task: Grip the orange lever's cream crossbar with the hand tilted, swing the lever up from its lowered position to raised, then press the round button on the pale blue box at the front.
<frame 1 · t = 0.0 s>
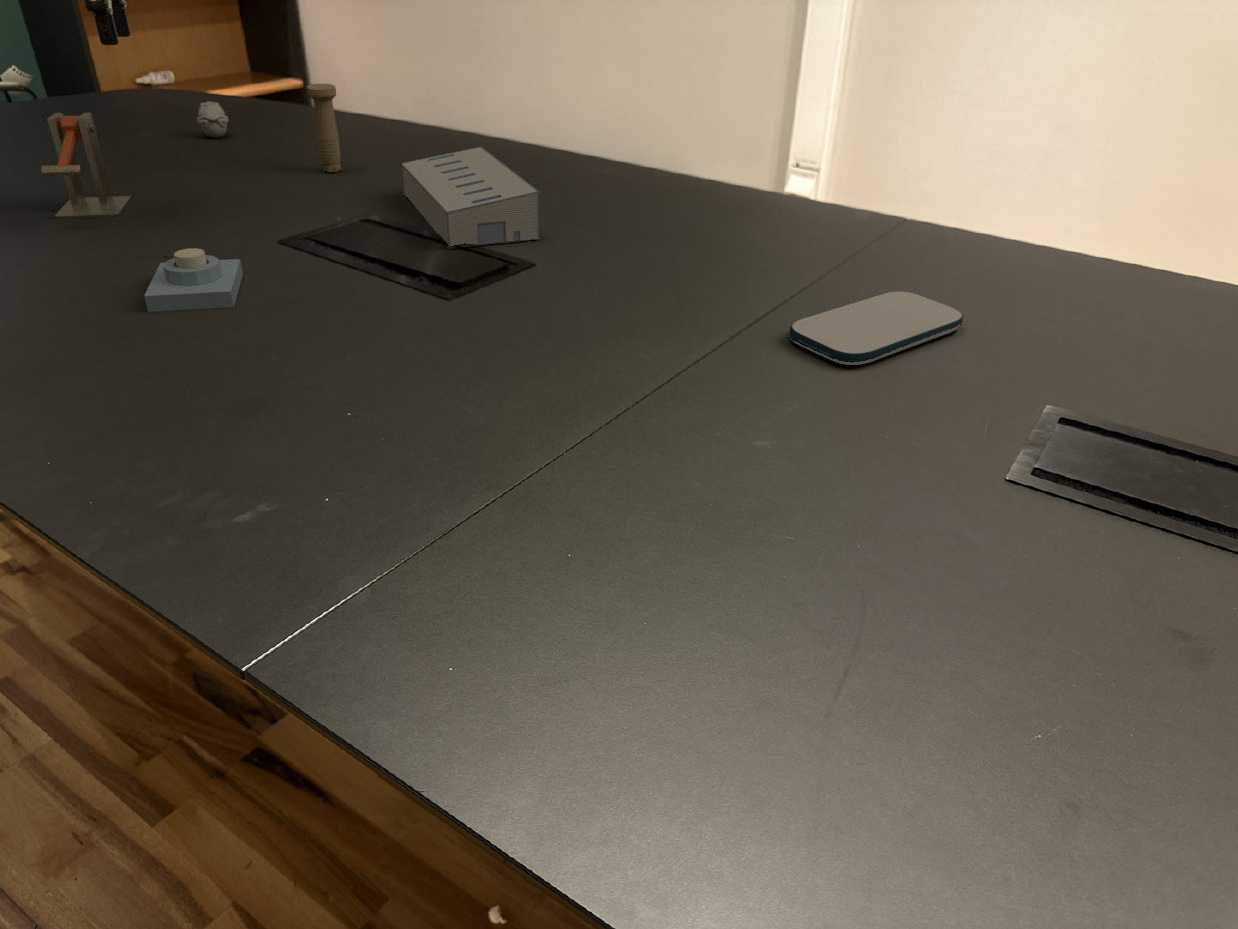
hand: (116, 40, 129), 26 cm above the table, tool pointing down, fingers open, 8 cm apart
lever: (67, 147, 134), point 11 cm above the table, hinge at -20.0°
bracket: (96, 212, 144), on the table
external hard drive: (875, 336, 113), on the table
button box: (198, 292, 117), on the table
button: (190, 259, 115), point 4 cm above the table, slide at 0.1 cm
warehouse: (467, 218, 149), on the table
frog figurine: (216, 138, 190), on the table
handle: (332, 172, 170), on the table
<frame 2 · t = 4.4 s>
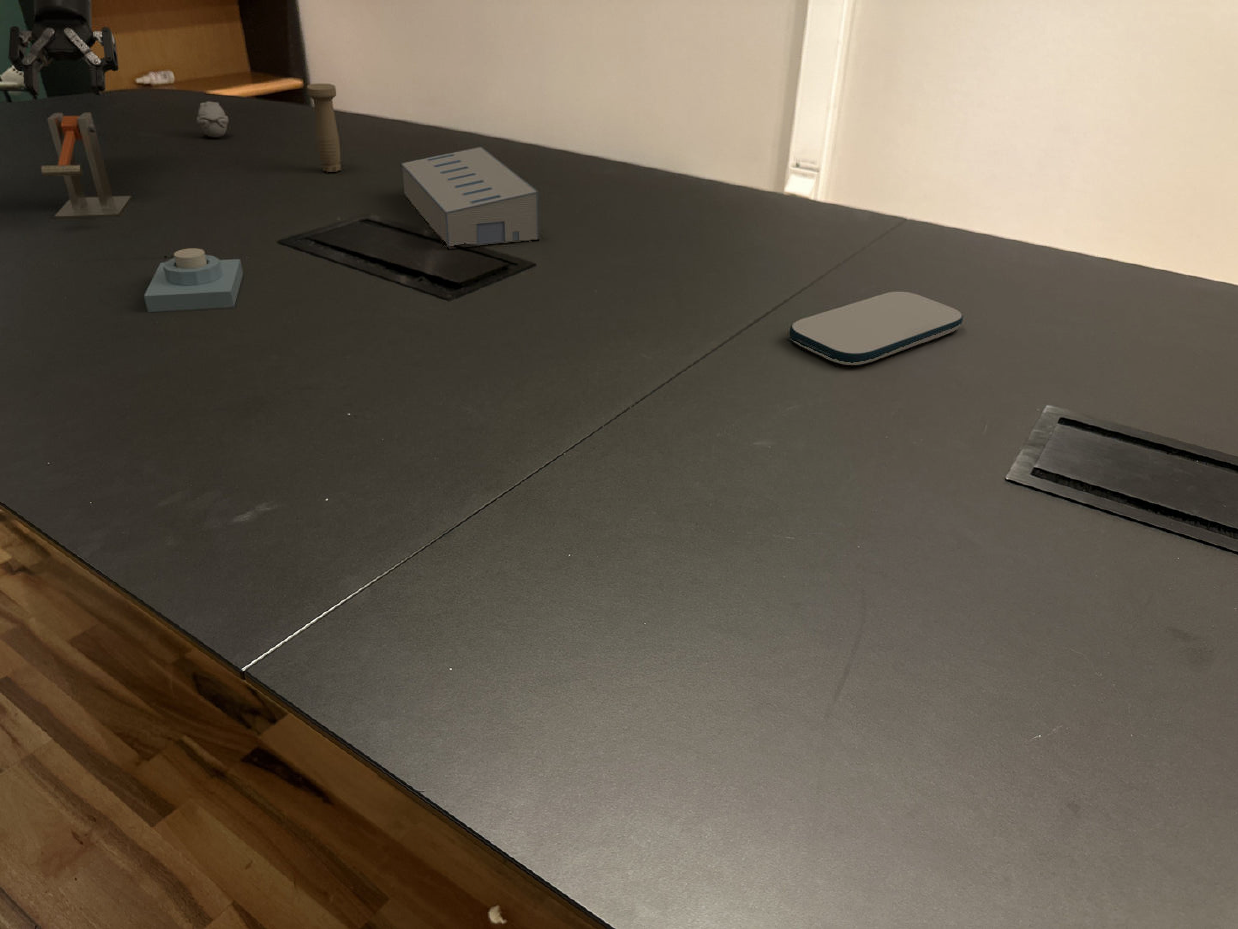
hand: (65, 92, 135), 18 cm above the table, tool tilted 45°, fingers open, 8 cm apart
nothing on the table moved.
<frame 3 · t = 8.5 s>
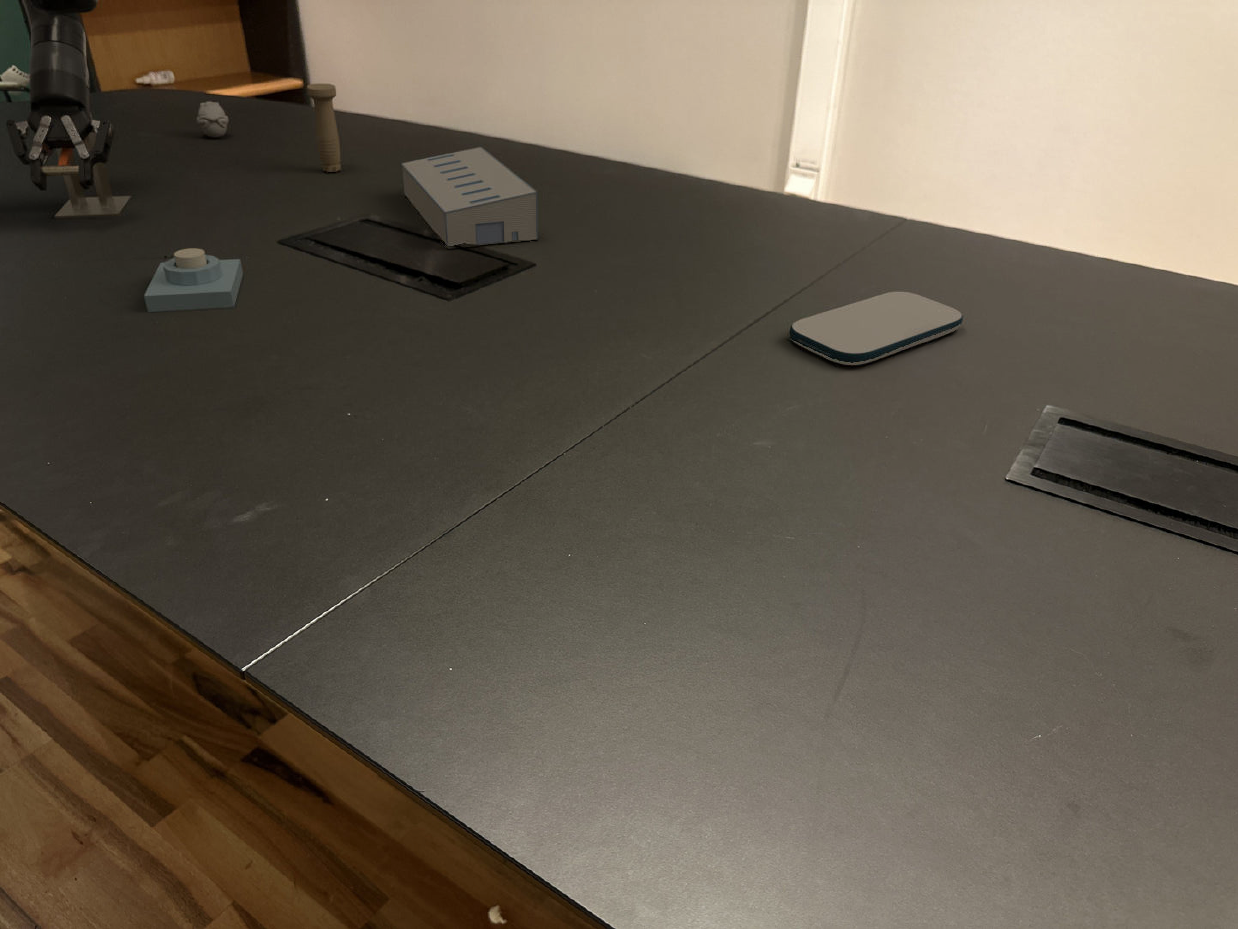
hand: (62, 186, 130), 7 cm above the table, tool tilted 45°, fingers closed on lever, 5 cm apart
lever: (67, 147, 134), point 11 cm above the table, hinge at -20.0°, touching gripper
everything else where it was.
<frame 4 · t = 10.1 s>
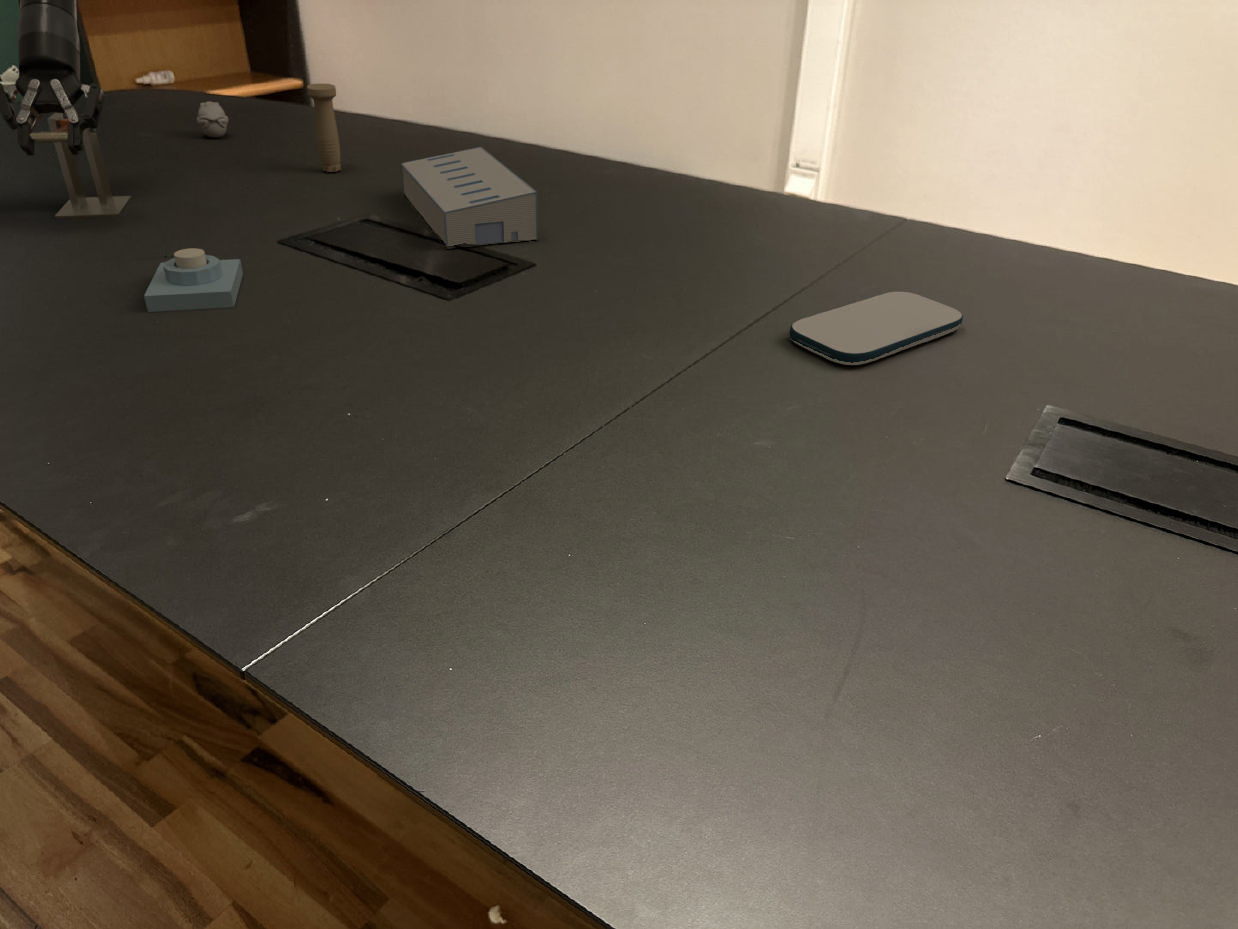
hand: (51, 151, 127), 12 cm above the table, tool tilted 45°, fingers closed on lever, 5 cm apart
lever: (62, 132, 132), point 13 cm above the table, hinge at 5.5°, touching gripper
everything else where it was.
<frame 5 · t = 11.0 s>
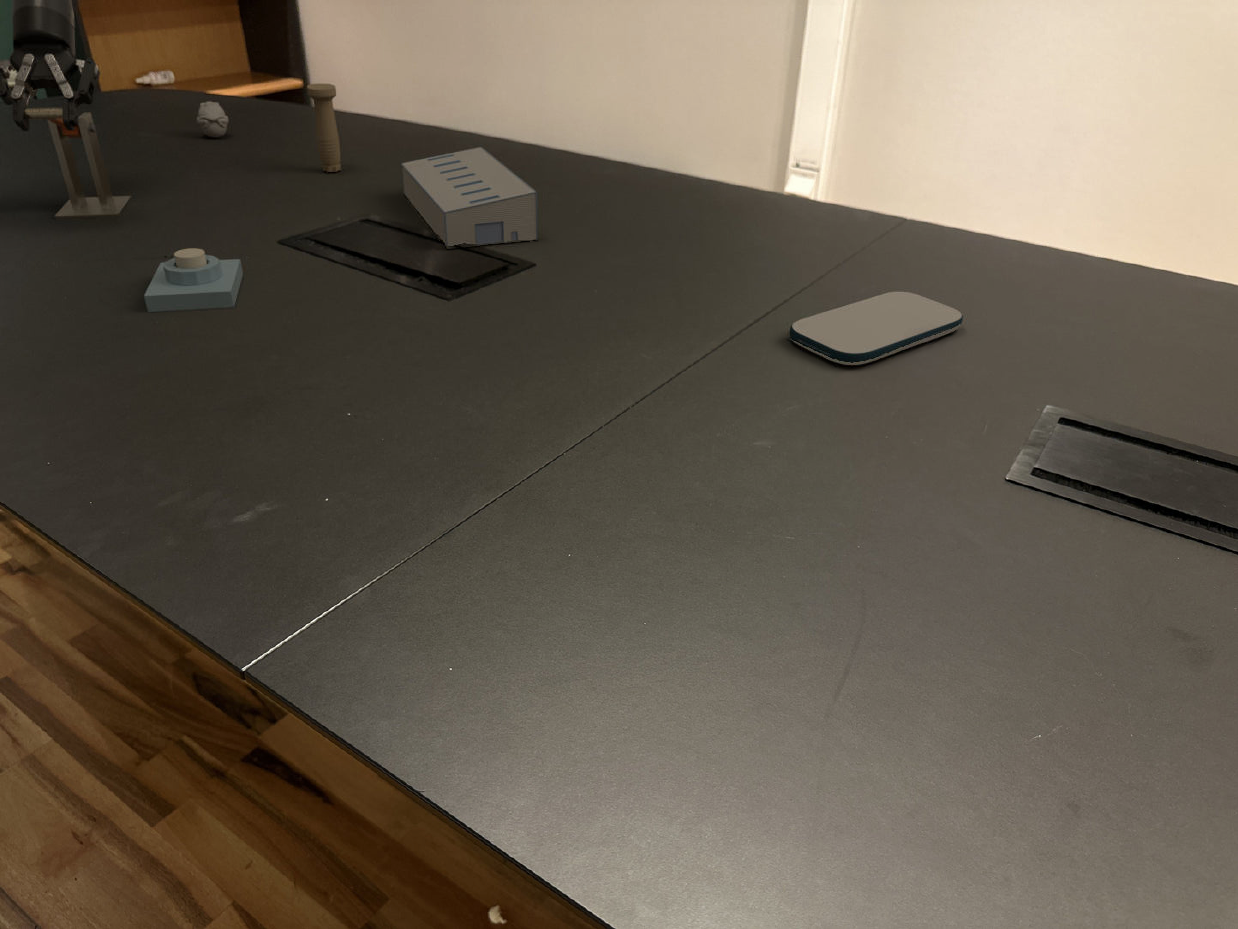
hand: (46, 126, 126), 16 cm above the table, tool tilted 45°, fingers closed on lever, 5 cm apart
lever: (60, 121, 132), point 15 cm above the table, hinge at 21.8°, touching gripper
everything else where it was.
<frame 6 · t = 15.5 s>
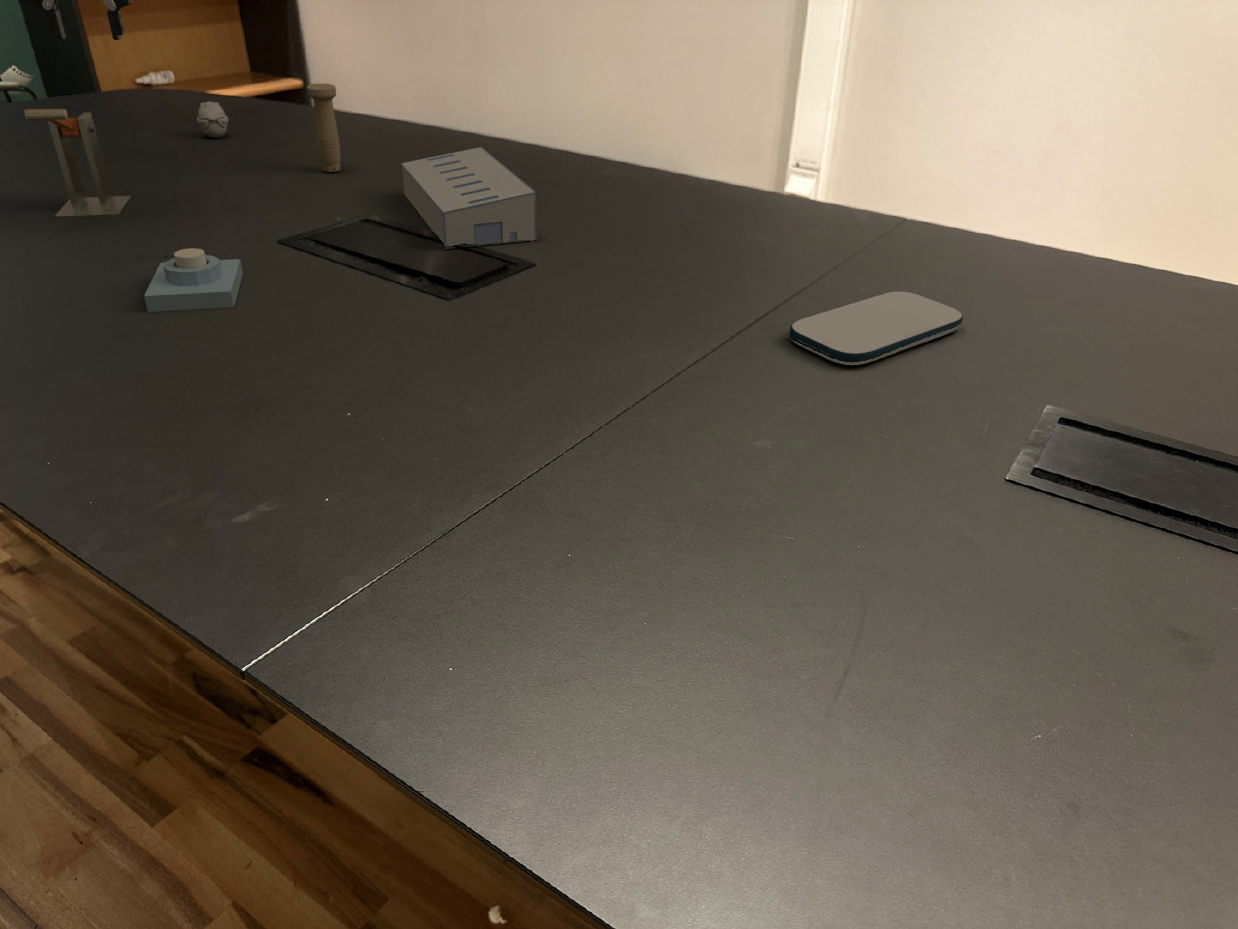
hand: (89, 38, 130), 26 cm above the table, tool pointing down, fingers open, 6 cm apart
lever: (60, 121, 132), point 15 cm above the table, hinge at 20.9°
everything else where it was.
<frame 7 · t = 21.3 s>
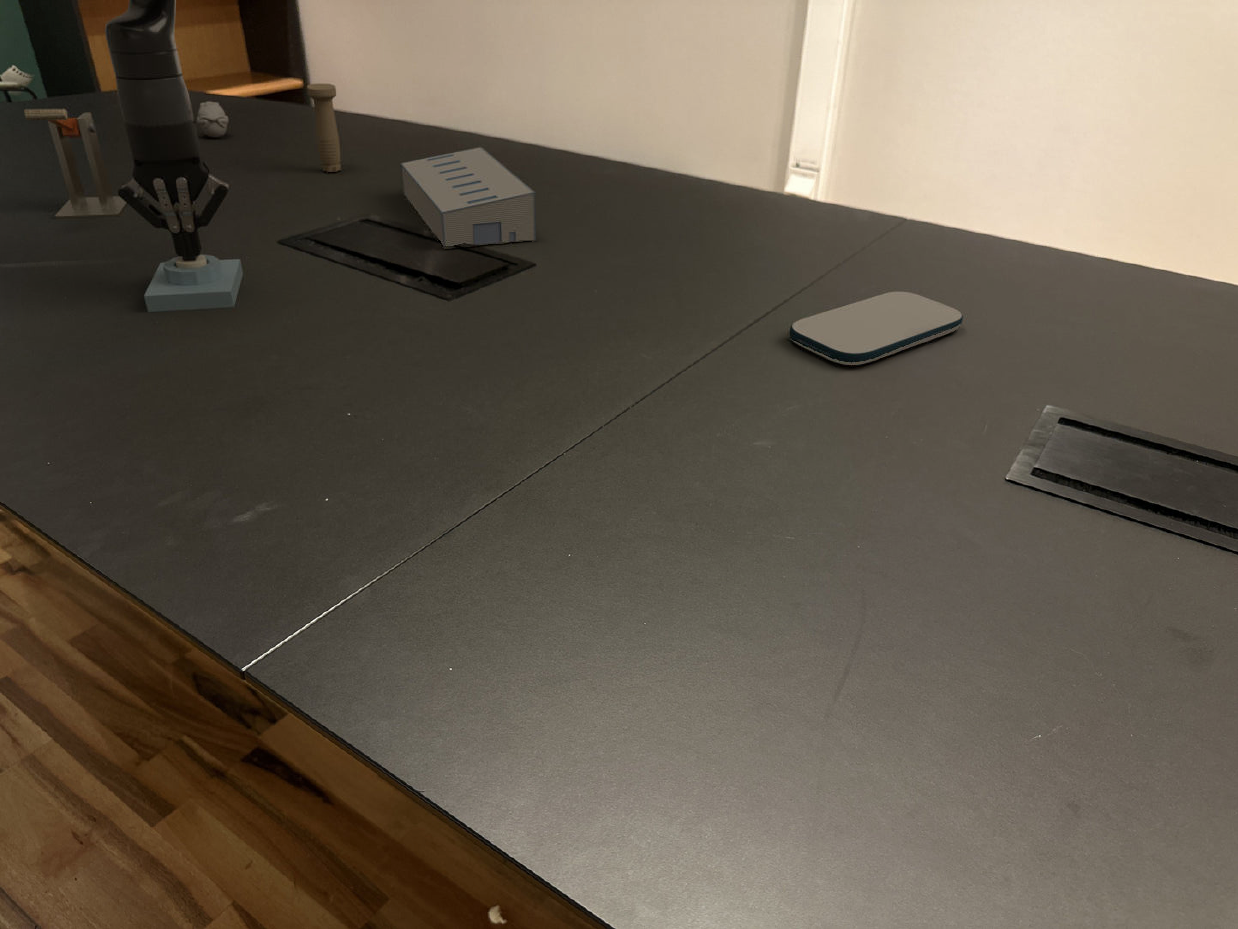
hand: (190, 258, 115), 5 cm above the table, tool pointing down, fingers closed
button: (191, 265, 115), point 4 cm above the table, slide at -0.7 cm, touching gripper
everything else where it was.
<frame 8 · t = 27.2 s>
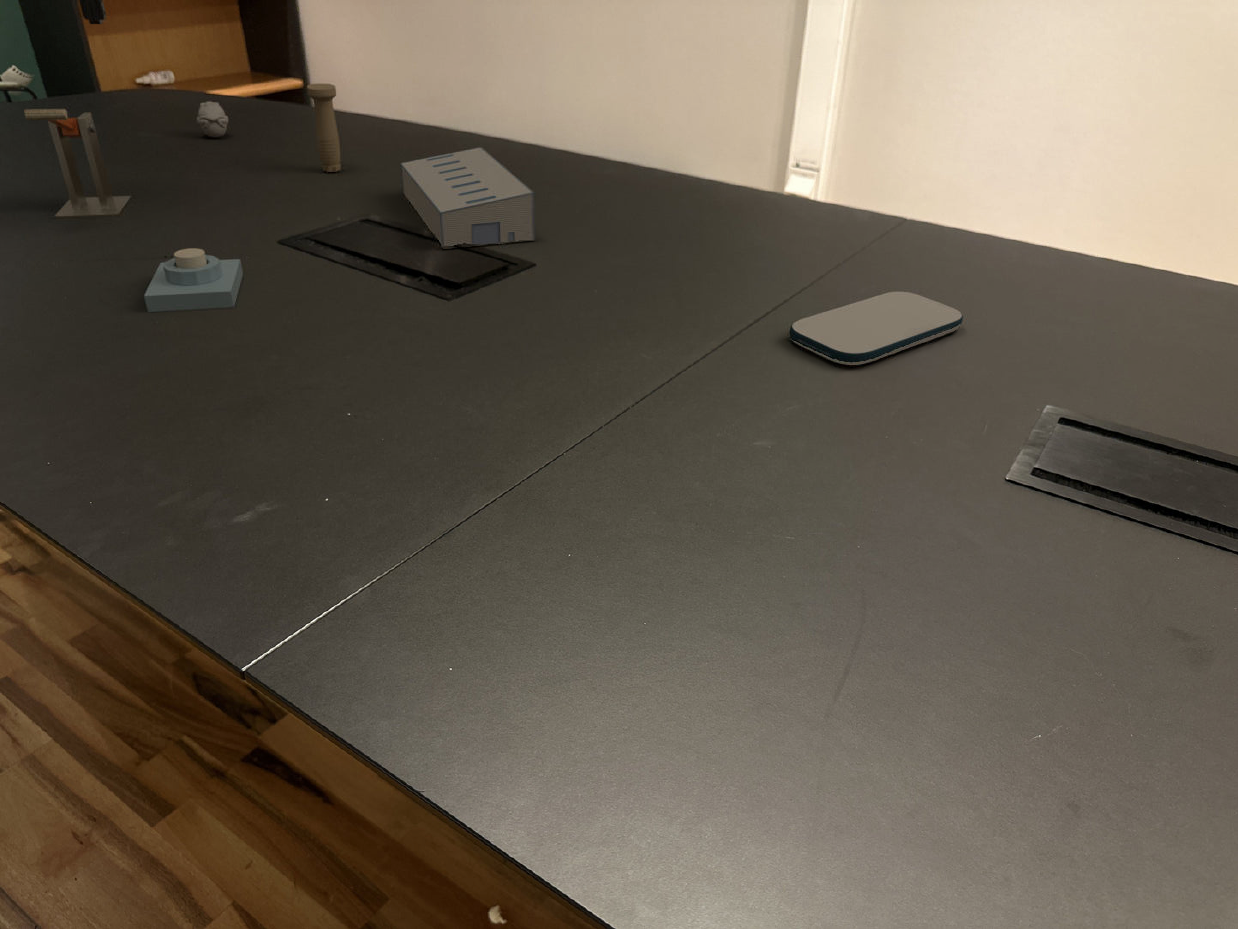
hand: (96, 23, 134), 27 cm above the table, tool pointing down, fingers closed
button: (190, 259, 115), point 4 cm above the table, slide at 0.1 cm
everything else where it was.
at the end: lever at +21° (first picture: -20°); button pushed in 1.1 cm at the most during the clip, back to where it started at the end; button slide at 0.1 cm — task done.
